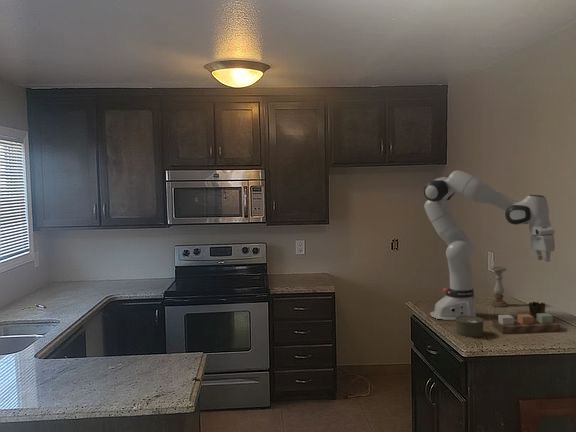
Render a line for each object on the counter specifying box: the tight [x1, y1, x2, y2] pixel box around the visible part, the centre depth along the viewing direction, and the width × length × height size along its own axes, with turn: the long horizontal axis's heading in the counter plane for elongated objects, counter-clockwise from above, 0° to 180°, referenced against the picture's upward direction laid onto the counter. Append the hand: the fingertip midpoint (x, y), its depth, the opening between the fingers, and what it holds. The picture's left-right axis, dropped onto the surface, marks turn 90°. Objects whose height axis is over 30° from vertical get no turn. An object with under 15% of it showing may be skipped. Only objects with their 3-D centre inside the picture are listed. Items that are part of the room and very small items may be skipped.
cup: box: [528, 301, 546, 318], centre depth 260 cm, size 8×7×8 cm
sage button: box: [537, 312, 554, 323], centre depth 246 cm, size 5×5×4 cm
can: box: [455, 315, 485, 338], centre depth 241 cm, size 12×12×7 cm
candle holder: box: [490, 266, 509, 308], centre depth 290 cm, size 9×9×20 cm
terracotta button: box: [516, 313, 533, 324], centre depth 246 cm, size 5×5×4 cm
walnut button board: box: [491, 318, 561, 335], centre depth 246 cm, size 26×12×3 cm, turn 92°
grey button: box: [497, 314, 515, 325], centre depth 246 cm, size 5×5×4 cm
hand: (543, 260), depth 240 cm, fingers open, 8 cm apart
